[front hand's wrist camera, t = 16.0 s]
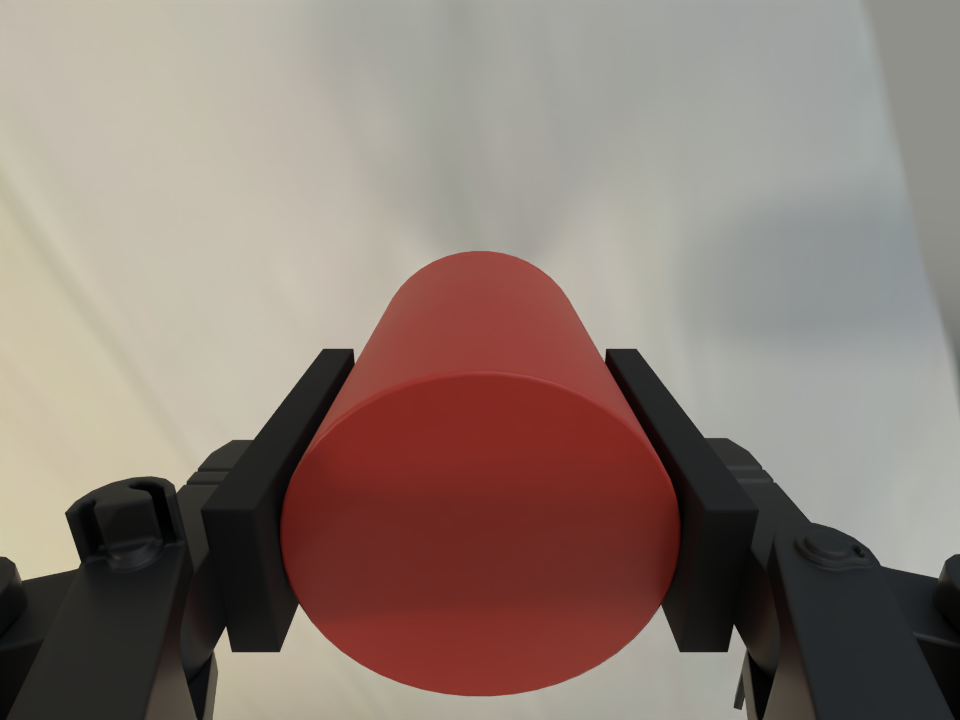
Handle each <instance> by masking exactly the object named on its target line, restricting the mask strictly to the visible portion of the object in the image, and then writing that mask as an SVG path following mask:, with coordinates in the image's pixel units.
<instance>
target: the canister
mask: <svg viewBox="0 0 960 720" xmlns="http://www.w3.org/2000/svg"><path fill="white" fill-rule="evenodd" d="M680 543H681V520H680V514H679V507H678V501H677V498H676V495H675V492H674V489H673V486H672V483H671V480H670V478H669V476H668V474H667V472H666V470H665V468H664V466H663V464H662V462H661V460H660V458H659V457H658V455H657V453H656V451H655V450H654V448H653V446H652V444H651V443H650V441H649V439H648V437H647V436H646V434H645V432H644V430H643V429H642V427H641V425H640V423H639V422H638V420H637V418H636V416H635V415H634V413H633V411H632V409H631V408H630V406H629V404H628V402H627V401H626V399H625V397H624V395H623V394H622V392H621V390H620V388H619V387H618V385H617V383H616V381H615V380H614V378H613V376H612V374H611V373H610V371H609V369H608V367H607V366H606V364H605V362H604V360H603V359H602V357H601V355H600V354H599V352H598V350H597V348H596V347H595V345H594V343H593V341H592V340H591V338H590V336H589V334H588V333H587V331H586V329H585V327H584V326H583V324H582V322H581V320H580V319H579V317H578V315H577V313H576V312H575V310H574V308H573V306H572V305H571V303H570V301H569V299H568V298H567V296H566V295H565V294H564V292H563V291H562V289H561V288H560V287H559V286H558V285H557V284H556V283H555V282H554V281H553V280H552V279H551V278H550V277H549V276H548V275H547V274H545V273H544V272H543V271H542V270H540V269H539V268H537V267H535V266H534V265H532V264H530V263H529V262H526V261H524V260H522V259H519V258H517V257H514V256H510V255H507V254H503V253H497V252H490V251H471V252H463V253H458V254H454V255H450V256H446V257H444V258H441V259H439V260H436V261H434V262H432V263H430V264H429V265H427V266H425V267H423V268H422V269H420V270H419V271H418V272H416V273H415V274H414V275H413V276H411V277H410V278H409V279H408V280H407V281H406V282H405V283H404V284H403V285H402V286H401V287H400V289H399V290H398V291H397V293H396V294H395V296H394V297H393V298H392V300H391V302H390V304H389V305H388V307H387V309H386V311H385V313H384V314H383V316H382V318H381V320H380V321H379V323H378V325H377V327H376V328H375V330H374V332H373V334H372V335H371V337H370V339H369V341H368V342H367V344H366V346H365V348H364V349H363V351H362V353H361V355H360V356H359V358H358V360H357V362H356V363H355V365H354V367H353V369H352V371H351V372H350V374H349V376H348V378H347V379H346V381H345V383H344V385H343V386H342V388H341V390H340V392H339V393H338V395H337V397H336V399H335V400H334V402H333V404H332V406H331V407H330V409H329V411H328V413H327V414H326V416H325V418H324V420H323V421H322V423H321V425H320V427H319V429H318V430H317V432H316V434H315V436H314V437H313V439H312V441H311V443H310V444H309V446H308V448H307V450H306V451H305V453H304V455H303V457H302V458H301V460H300V462H299V464H298V466H297V468H296V470H295V471H294V473H293V475H292V477H291V480H290V483H289V486H288V488H287V491H286V494H285V497H284V501H283V507H282V513H281V519H280V545H281V552H282V558H283V564H284V568H285V571H286V574H287V577H288V580H289V583H290V586H291V588H292V590H293V592H294V594H295V596H296V598H297V600H298V602H299V604H300V606H301V607H302V609H303V610H304V611H305V613H306V614H307V616H308V617H309V619H310V620H311V622H312V623H313V624H314V625H315V626H316V627H317V628H318V629H319V631H320V632H321V633H322V634H323V635H324V636H325V637H326V638H327V639H328V640H329V641H330V642H332V643H333V644H334V645H335V646H336V647H337V648H338V649H340V650H341V651H342V652H343V653H345V654H346V655H348V656H349V657H351V658H352V659H354V660H355V661H356V662H358V663H359V664H361V665H363V666H365V667H367V668H369V669H370V670H372V671H374V672H376V673H378V674H380V675H382V676H385V677H387V678H390V679H392V680H394V681H397V682H399V683H402V684H406V685H409V686H412V687H416V688H419V689H422V690H428V691H433V692H438V693H443V694H451V695H462V696H499V695H510V694H517V693H523V692H528V691H534V690H538V689H541V688H545V687H548V686H552V685H555V684H559V683H561V682H564V681H566V680H569V679H571V678H574V677H576V676H579V675H581V674H583V673H585V672H587V671H588V670H590V669H592V668H594V667H596V666H598V665H600V664H601V663H603V662H604V661H606V660H607V659H609V658H610V657H612V656H613V655H615V654H616V653H618V652H619V651H620V650H621V649H622V648H623V647H625V646H626V645H627V644H628V643H629V642H630V641H632V640H633V639H634V638H635V637H636V636H637V635H638V634H639V632H640V631H641V630H642V629H643V628H644V627H645V626H646V625H647V624H648V623H649V621H650V620H651V618H652V617H653V615H654V614H655V613H656V611H657V610H658V608H659V607H660V605H661V604H662V602H663V600H664V598H665V596H666V594H667V592H668V590H669V588H670V586H671V583H672V580H673V577H674V574H675V571H676V568H677V563H678V557H679V551H680Z"/></svg>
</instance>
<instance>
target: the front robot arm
mask: <svg viewBox="0 0 960 720" xmlns="http://www.w3.org/2000/svg"><path fill="white" fill-rule="evenodd" d="M605 364H606V366H607V367H608V369H609V371H610V373H611V374H612V376H613V378H614V380H615V381H616V383H617V385H618V387H619V388H620V390H621V392H622V394H623V395H624V397H625V399H626V401H627V402H628V404H629V406H630V408H631V409H632V411H633V413H634V415H635V416H636V418H637V420H638V422H639V423H640V425H641V427H642V429H643V430H644V432H645V434H646V436H647V437H648V439H649V441H650V443H651V444H652V446H653V448H654V450H655V451H656V453H657V455H658V457H659V458H660V460H661V462H662V464H663V466H664V468H665V470H666V472H667V474H668V476H669V478H670V480H671V483H672V486H673V489H674V492H675V495H676V498H677V501H678V507H679V514H680V520H681V543H680V551H679V557H678V563H677V568H676V571H675V574H674V577H673V580H672V583H671V586H670V588H669V590H668V592H667V594H666V596H665V598H664V600H663V602H662V604H661V605H662V608H663V610H664V613H665V615H666V618H667V620H668V623H669V625H670V628H671V631H672V633H673V636H674V638H675V641H676V643H677V646H678V648H679V651H680V652H728V648H729V644H730V639H731V635H732V630H733V626H734V625H735V627H736V629H737V630H738V632H739V634H740V636H741V638H742V640H743V642H744V644H745V645H746V647H747V649H746V654H745V658H744V662H743V666H742V670H741V675H740V679H739V683H738V687H737V691H736V695H735V702H734V708H736V709H740V710H742V706H743V702H744V698H745V701H746V709H747V717H748V720H960V554H956V555H953V556H952V557H950V558H949V559H948V560H946V561H945V564H944V566H943V569H942V571H941V574H940V577H939V579H938V578H934V577H929V576H924V575H919V574H914V573H910V572H905V571H900V570H895V569H890V568H887V567H883V566H881V565H880V563H879V561H878V560H877V559H876V557H875V556H874V555H873V553H872V552H871V551H870V550H869V549H868V548H867V547H866V546H864V545H863V544H862V543H860V542H859V541H857V540H856V539H855V538H853V537H851V536H849V535H847V534H845V533H843V532H841V531H839V530H837V529H834V528H831V527H827V526H824V525H820V524H816V523H811V522H810V521H809V520H808V519H807V517H806V516H805V515H804V514H803V513H802V512H801V511H800V509H799V508H798V507H797V506H796V505H795V504H794V503H793V501H792V500H791V499H790V498H789V497H788V496H787V495H786V493H785V492H784V491H783V490H782V489H781V488H780V487H779V485H778V484H777V483H774V482H773V479H772V477H771V476H770V475H769V474H768V473H767V472H766V471H765V470H762V466H761V465H760V464H759V463H758V461H757V460H756V459H755V458H754V457H753V456H752V455H751V454H750V452H749V451H747V450H746V449H744V448H742V447H741V446H739V445H737V444H736V443H734V442H732V441H731V440H729V439H727V438H704V437H703V435H702V434H701V433H700V432H699V430H698V429H697V428H696V426H695V425H694V424H693V422H692V421H691V420H690V418H689V417H688V416H687V415H686V413H685V412H684V411H683V409H682V408H681V407H680V405H679V404H678V403H677V401H676V400H675V399H674V398H673V396H672V395H671V394H670V392H669V391H668V390H667V388H666V387H665V386H664V384H663V383H662V382H661V381H660V379H659V378H658V377H657V375H656V374H655V373H654V371H653V370H652V369H651V367H650V366H649V365H648V364H647V362H646V361H645V360H644V358H643V357H642V356H641V354H640V353H639V352H638V350H637V349H606V358H605ZM354 365H355V362H354V351H353V349H323V350H322V351H321V353H320V354H319V355H318V356H317V358H316V359H315V360H314V362H313V363H312V364H311V366H310V367H309V368H308V370H307V371H306V372H305V373H304V375H303V376H302V377H301V379H300V380H299V381H298V383H297V384H296V385H295V387H294V388H293V389H292V390H291V392H290V393H289V394H288V396H287V397H286V398H285V400H284V401H283V402H282V404H281V405H280V406H279V407H278V409H277V410H276V411H275V413H274V414H273V415H272V417H271V418H270V419H269V421H268V422H267V423H266V424H265V426H264V427H263V428H262V430H261V431H260V432H259V434H258V435H257V436H256V438H255V439H254V440H232V441H231V442H229V443H227V444H226V445H224V446H222V447H221V448H219V449H217V450H216V451H214V452H213V453H211V454H210V455H209V457H208V458H207V459H206V460H205V461H204V462H203V463H202V465H201V466H200V467H199V468H198V472H195V473H194V474H193V475H192V476H191V477H190V478H189V480H188V481H187V484H186V485H183V486H182V488H181V489H180V490H179V491H178V492H177V493H176V490H175V486H174V485H173V484H172V483H171V482H169V481H168V480H167V479H163V478H158V477H152V476H150V477H135V478H129V479H125V480H121V481H117V482H113V483H110V484H108V485H105V486H103V487H100V488H98V489H96V490H93V491H91V492H90V493H88V494H87V495H85V496H83V497H82V498H80V499H79V500H77V501H76V502H75V503H74V504H73V505H72V506H71V507H70V508H69V509H68V510H67V511H66V512H65V515H66V518H67V521H68V524H69V527H70V530H71V533H72V536H73V539H74V542H75V545H76V548H77V551H78V554H79V557H80V560H81V564H80V566H79V568H78V569H75V570H71V571H67V572H62V573H57V574H53V575H48V576H43V577H38V578H34V579H29V580H24V581H21V578H20V575H19V573H18V570H17V568H16V565H15V563H13V562H12V561H11V560H9V559H8V558H6V557H0V720H212V719H213V710H214V702H215V694H216V685H217V677H218V670H217V663H216V658H215V654H214V648H215V646H216V644H217V642H218V640H219V638H220V636H221V634H222V633H223V631H224V629H225V627H227V632H228V636H229V641H230V645H231V650H232V652H280V650H281V647H282V645H283V642H284V640H285V637H286V635H287V632H288V630H289V627H290V625H291V622H292V619H293V617H294V614H295V612H296V609H297V607H298V604H299V602H298V600H297V598H296V596H295V594H294V592H293V590H292V588H291V586H290V583H289V580H288V577H287V574H286V571H285V568H284V564H283V558H282V552H281V545H280V519H281V513H282V507H283V501H284V497H285V494H286V491H287V488H288V486H289V483H290V480H291V477H292V475H293V473H294V471H295V470H296V468H297V466H298V464H299V462H300V460H301V458H302V457H303V455H304V453H305V451H306V450H307V448H308V446H309V444H310V443H311V441H312V439H313V437H314V436H315V434H316V432H317V430H318V429H319V427H320V425H321V423H322V421H323V420H324V418H325V416H326V414H327V413H328V411H329V409H330V407H331V406H332V404H333V402H334V400H335V399H336V397H337V395H338V393H339V392H340V390H341V388H342V386H343V385H344V383H345V381H346V379H347V378H348V376H349V374H350V372H351V371H352V369H353V367H354Z"/></svg>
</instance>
